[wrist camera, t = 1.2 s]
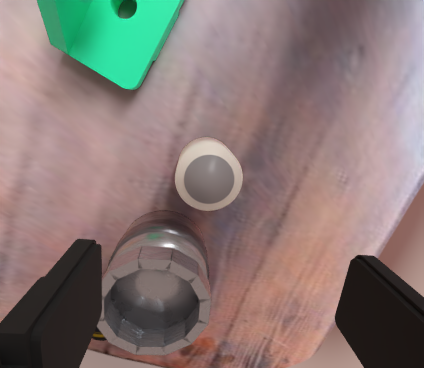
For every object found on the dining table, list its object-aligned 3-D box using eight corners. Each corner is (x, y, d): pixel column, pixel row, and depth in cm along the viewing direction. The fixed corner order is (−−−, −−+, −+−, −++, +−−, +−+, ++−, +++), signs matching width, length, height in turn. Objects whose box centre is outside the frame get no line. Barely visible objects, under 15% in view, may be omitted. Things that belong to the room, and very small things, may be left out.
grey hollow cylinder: (210, 211, 31) (218, 260, 21) (202, 285, 34) (206, 357, 24) (121, 206, 30) (88, 254, 20) (121, 282, 33) (91, 356, 23)
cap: (235, 139, 29) (247, 149, 23) (229, 192, 30) (238, 214, 24) (180, 134, 28) (176, 142, 22) (176, 188, 30) (172, 210, 24)
